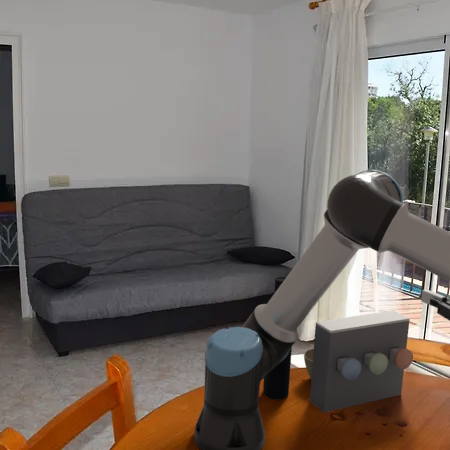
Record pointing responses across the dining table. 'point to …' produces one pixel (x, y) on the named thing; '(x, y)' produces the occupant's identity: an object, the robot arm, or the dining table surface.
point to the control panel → (356, 348)
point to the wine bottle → (278, 371)
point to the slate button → (349, 367)
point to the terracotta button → (401, 357)
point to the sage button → (376, 362)
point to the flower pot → (309, 360)
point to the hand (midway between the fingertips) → (424, 295)
